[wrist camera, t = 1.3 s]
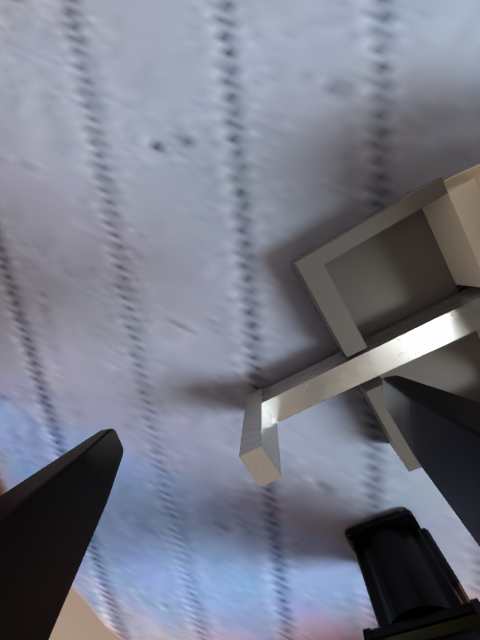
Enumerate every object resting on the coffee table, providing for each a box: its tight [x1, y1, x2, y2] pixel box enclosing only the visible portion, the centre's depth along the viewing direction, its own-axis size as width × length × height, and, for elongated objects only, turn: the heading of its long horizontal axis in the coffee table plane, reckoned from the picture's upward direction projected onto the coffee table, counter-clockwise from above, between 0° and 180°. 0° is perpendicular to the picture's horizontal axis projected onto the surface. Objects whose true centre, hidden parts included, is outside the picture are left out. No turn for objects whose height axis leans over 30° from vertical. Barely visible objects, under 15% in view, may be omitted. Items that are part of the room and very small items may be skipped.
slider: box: [239, 286, 480, 487], centre depth 16 cm, size 29×13×7 cm, turn 121°
